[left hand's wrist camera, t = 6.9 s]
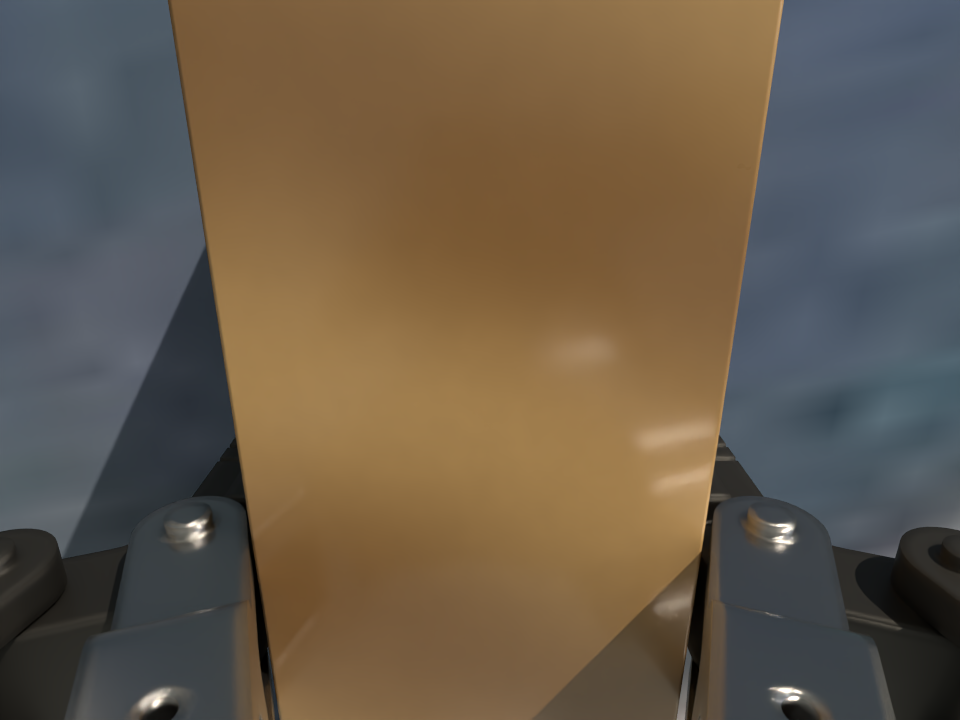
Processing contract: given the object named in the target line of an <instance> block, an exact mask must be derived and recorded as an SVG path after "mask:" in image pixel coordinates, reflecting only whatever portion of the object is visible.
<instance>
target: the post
mask: <svg viewBox="0 0 960 720" xmlns="http://www.w3.org/2000/svg"><path fill="white" fill-rule="evenodd" d="M783 2H784V0H168V4H169V10H170V17H171V23H172V30H173V36H174V43H175V49H176V55H177V62H178V68H179V75H180V81H181V88H182V94H183V100H184V107H185V113H186V120H187V126H188V133H189V139H190V145H191V152H192V158H193V165H194V171H195V178H196V184H197V190H198V197H199V203H200V210H201V216H202V223H203V229H204V235H205V242H206V248H207V255H208V261H209V268H210V274H211V280H212V287H213V293H214V300H215V306H216V313H217V319H218V325H219V332H220V338H221V345H222V351H223V358H224V364H225V370H226V377H227V383H228V390H229V396H230V403H231V409H232V415H233V422H234V428H235V435H236V441H237V448H238V454H239V460H240V467H241V473H242V480H243V486H244V493H245V499H246V505H247V512H248V518H249V525H250V531H251V538H252V544H253V550H254V557H255V563H256V570H257V576H258V583H259V589H260V596H261V602H262V608H263V615H264V621H265V628H266V634H267V640H268V647H269V653H270V660H271V666H272V673H273V679H274V685H275V692H276V698H277V705H278V711H279V718H280V720H676V719H677V712H678V705H679V699H680V692H681V685H682V679H683V672H684V665H685V659H686V652H687V645H688V638H689V632H690V625H691V618H692V612H693V605H694V598H695V591H696V585H697V578H698V571H699V565H700V558H701V551H702V545H703V538H704V531H705V524H706V518H707V511H708V504H709V498H710V491H711V484H712V478H713V471H714V464H715V457H716V451H717V444H718V437H719V431H720V424H721V417H722V411H723V404H724V397H725V390H726V384H727V377H728V370H729V364H730V357H731V350H732V344H733V337H734V330H735V323H736V317H737V310H738V303H739V297H740V290H741V283H742V276H743V270H744V263H745V256H746V250H747V243H748V236H749V230H750V223H751V216H752V209H753V203H754V196H755V189H756V183H757V176H758V169H759V163H760V156H761V149H762V142H763V136H764V129H765V122H766V116H767V109H768V102H769V96H770V89H771V82H772V75H773V69H774V62H775V55H776V49H777V42H778V35H779V29H780V22H781V15H782V8H783Z"/></svg>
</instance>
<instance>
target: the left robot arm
mask: <svg viewBox="0 0 960 720" xmlns="http://www.w3.org/2000/svg"><path fill="white" fill-rule="evenodd" d="M687 646H688V649H689V652H690V654H691V656H692V657H691V664H690V670H689V679H688V691H687V702H686V714H685V720H960V531H959V530H954V529H949V528H941V527H922V528H916V529H912V530H910V531H908V532H906V533H905V534H904V535H903V536H902V538H901V540H900V543H899V547H898V550H897V554H896V557H895V558H890V557H885V556H880V555H875V554H870V553H865V552H859V551H854V550H849V549H844V548H840V547H836V546H832V545H831V540H830V536H829V534H828V531H827V530H826V528H825V527H824V525H823V524H822V523H821V522H820V521H819V520H818V519H816V518H815V517H814V516H813V515H811V514H809V513H808V512H806V511H805V510H803V509H801V508H799V507H797V506H794V505H792V504H789V503H787V502H784V501H780V500H777V499H772V498H768V497H763V495H762V494H761V493H760V491H759V490H758V488H757V487H756V486H755V484H754V483H753V481H752V480H751V479H750V477H749V476H748V474H747V473H746V472H745V470H744V469H743V467H742V466H741V465H740V463H739V462H738V461H735V456H734V455H733V454H732V452H731V451H730V449H729V448H728V447H726V444H725V442H724V441H723V440H722V438H721V437H720V435H719V437H718V444H717V451H716V457H715V464H714V471H713V478H712V484H711V491H710V498H709V504H708V511H707V518H706V524H705V531H704V538H703V545H702V551H701V558H700V565H699V571H698V578H697V585H696V591H695V598H694V605H693V612H692V618H691V625H690V632H689V638H688V645H687ZM267 648H268V640H267V634H266V628H265V621H264V615H263V608H262V602H261V596H260V589H259V583H258V576H257V570H256V563H255V557H254V550H253V544H252V538H251V531H250V525H249V518H248V512H247V505H246V499H245V493H244V486H243V480H242V473H241V467H240V460H239V454H238V448H237V441H236V437H235V439H234V440H233V441H232V443H231V444H230V448H227V450H226V451H225V452H224V454H223V455H222V457H221V458H220V462H217V463H216V465H215V466H214V468H213V469H212V470H211V472H210V473H209V474H208V476H207V477H206V479H205V480H204V481H203V483H202V484H201V485H200V487H199V488H198V490H197V491H196V492H195V494H194V495H193V496H192V498H188V499H183V500H180V501H176V502H173V503H171V504H168V505H166V506H163V507H161V508H159V509H157V510H155V511H154V512H152V513H151V514H149V515H147V516H146V517H145V518H144V519H142V520H141V521H140V522H139V523H138V524H137V525H136V527H135V528H134V530H133V531H132V534H131V536H130V540H129V545H126V546H123V547H119V548H115V549H111V550H106V551H101V552H95V553H90V554H85V555H80V556H75V557H70V558H65V559H62V557H61V554H60V550H59V547H58V543H57V541H56V539H55V537H54V536H53V535H52V534H50V533H48V532H46V531H42V530H38V529H14V530H7V531H2V532H0V720H275V714H274V703H273V691H272V679H271V670H270V664H269V657H268V651H267Z"/></svg>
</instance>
